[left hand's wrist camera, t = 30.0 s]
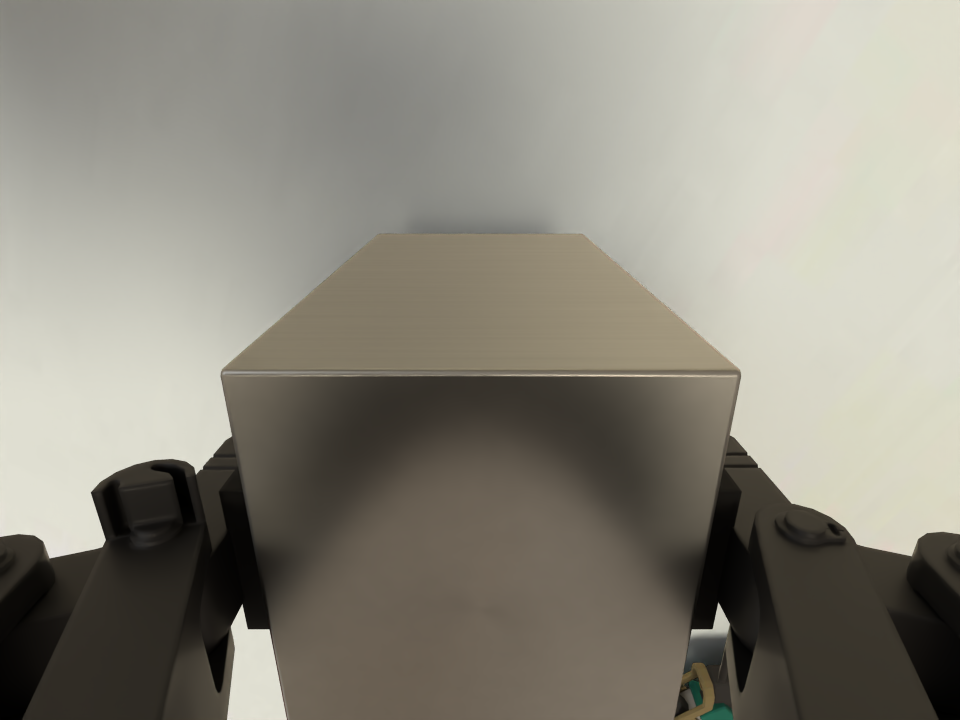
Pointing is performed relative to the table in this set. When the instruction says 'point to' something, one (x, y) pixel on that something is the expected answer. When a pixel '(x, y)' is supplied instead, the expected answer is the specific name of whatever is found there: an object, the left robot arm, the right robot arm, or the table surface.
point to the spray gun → (704, 695)
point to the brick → (480, 483)
